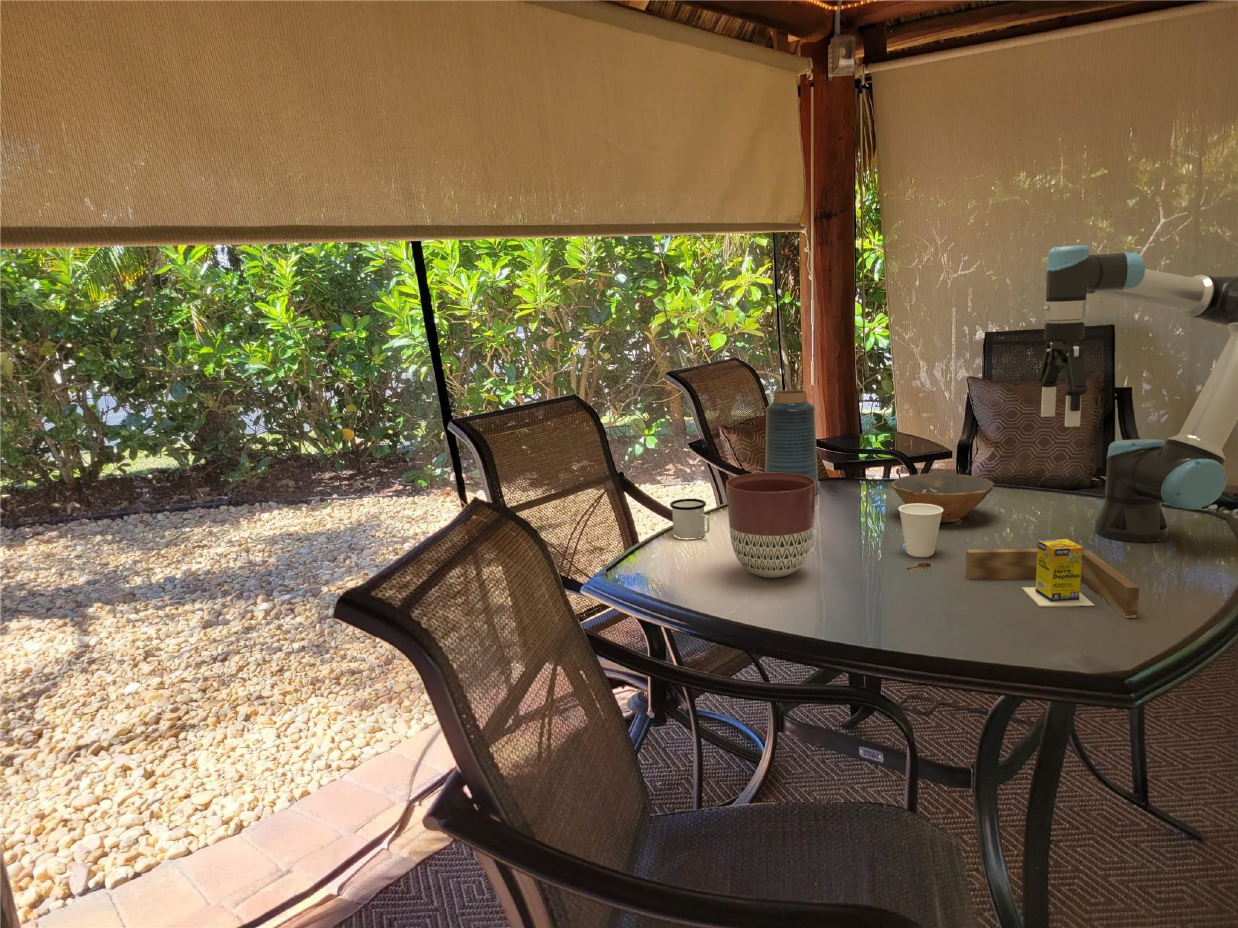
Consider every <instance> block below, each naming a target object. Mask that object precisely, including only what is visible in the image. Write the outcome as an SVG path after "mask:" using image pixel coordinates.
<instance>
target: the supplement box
mask: <svg viewBox="0 0 1238 928" xmlns="http://www.w3.org/2000/svg"><path fill="white" fill-rule="evenodd" d="M1037 549H1038V553H1037V571H1036V579H1035V587H1036V589H1035V591H1036V592H1037V593H1039V594H1040V595H1042V596H1043V597H1045V598H1046V599H1048V600H1049V601H1062V600H1079V595H1080V593H1081V581H1080V580H1081V565H1082V551H1083V546H1081V545H1080V544H1077V543H1075V541H1071V540H1070V539H1068V538H1063V539H1049V540H1048V539H1046V540H1042V539H1039V540H1038V541H1037Z"/></svg>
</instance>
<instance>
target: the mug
mask: <svg viewBox="0 0 1238 928" xmlns="http://www.w3.org/2000/svg"><path fill="white" fill-rule="evenodd" d="M706 505H707V502H706V501H705V500H703V499H699V498H682V499H681V498H680V499H675V500H673V501H671V502H670V503H669V507H670V508H671V509H672V513H671V514H672V533H673V534H674V535H676V536H677V537H680V538H699V537H702V538H704V537H705V536H706V534H707V533H709V532H710V527H711V526H710V525H711V524H710V516H709V515H707V514H705V507H706ZM705 518H706V520H705ZM705 521H706V523H705ZM704 535H705V536H704ZM703 536H704V537H703Z"/></svg>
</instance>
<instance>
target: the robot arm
mask: <svg viewBox="0 0 1238 928" xmlns="http://www.w3.org/2000/svg"><path fill="white" fill-rule="evenodd" d="M1044 279H1045V283H1046V288H1045V289H1046V291H1045V306H1043V307H1042V308H1043V309H1042V310H1043V311H1044V313H1045V314H1044V319H1045V321H1048V322H1046V323H1045V324H1044V328H1043V329H1044V331H1043V332H1044V333H1043V339H1044V341H1047V342H1045V345H1044V346H1045V347H1044V354H1043V359H1042V363H1041V367H1040V372H1039V376H1038V380H1037V381H1038V384H1039V383H1040V385H1041V387H1042V389H1041V406H1040V408H1041V409H1040V417H1046V418H1047V417H1056V403H1057V402H1056V401H1057V400H1056V399H1057V387H1058V383H1057V380H1058V378H1059V375H1060V372H1061V370H1062V373H1063V377H1064V382H1065V385H1066V390H1067V391H1066V392H1065V394H1064V395H1065V411H1064V412H1065V415H1064V427H1066V428H1069V427H1070V428H1072V427H1081V414H1082V413H1081V411H1082V398H1083V397H1082V396H1083V395H1084V394H1087V393H1088V385H1087V379H1086V378H1087V377H1086V372H1085V371H1086V370H1085V365H1084V355H1083V354H1084V353H1083V352H1084V348H1083V346H1081V345H1080V346H1078V345H1077V346H1076V341H1081V340H1083V339H1084V338H1085V322H1084V321H1083V320H1085V319H1086V317H1087V316H1086V315H1087V294H1088V295H1094V296H1098V297H1103V298H1104V297H1105V298H1111V299H1115V300H1122V301H1127V302H1132V303H1136V304H1137V303H1138V304H1142V305H1148V306H1154V307H1160V308H1166V309H1171V310H1176V311H1179V312H1180V314H1182V315H1183V316H1186V317H1189V318H1194V319H1199V320H1202V321H1206V322H1210V323H1214V324H1219V325H1222V326H1225V327H1226V328H1227V329H1228V331H1229V333H1230V337H1229V339H1228V341H1227V342H1226V344H1225V346H1224V348H1223V349H1222V352H1221V353H1220V356H1219V358H1218V360H1217V361H1216V363H1215V365H1214V367H1213V369H1212V371H1211V373H1210V375H1209V376H1208V378H1207V380H1206V382H1205V383H1204V386H1203V388H1202V390H1201V392H1200V393H1199V395H1198V396H1197V399H1196V401H1195V403H1194V405H1193V407H1192V408H1191V411H1190V412H1189V414H1188V416H1187V417H1186V420H1185V421H1184V424H1183V425H1182V427H1181V429H1180V430H1179V433H1177V434H1176V435H1173V436H1171V437H1170V436H1169V437H1168V438H1167V439H1166V441H1165V440H1164V439H1157V438H1156V439H1151V438H1150V439H1149V438H1148V439H1146V438H1145V439H1141V438H1140V439H1139V438H1138V439H1123V440H1115V441H1112V442H1111V443H1110V444H1109V445H1108V450H1107V456H1106V471H1105V472H1106V473H1105V474H1106V476H1105V494H1104V502H1103V504H1102V505H1101V508H1100V511H1099V513H1098V515H1097V517H1096V520H1095V523H1094V532H1095V533H1096V534H1098V535H1100V536H1101V537H1104V538H1107V539H1111V540H1114V541H1115V540H1117V541H1123V542H1132V543H1153V542H1155V541H1156V542H1159V541H1158V540H1161V541H1163V540H1162V539H1164V538H1166V537H1167V536H1168V537H1169V535H1168V534H1169V525H1168V522H1167V519H1166V515H1165V513H1164V510H1163V506H1162V503H1163V504H1167V505H1169V506H1171V507H1173V508H1180V509H1184V510H1185V509H1186V510H1200V509H1203V508H1205V507H1207V506H1210V505H1212V504H1213V503H1214V502H1216V500H1218V499H1219V498H1220V497H1221V495H1222V494H1223V492H1224V490H1225V488H1226V485H1227V478H1226V476H1227V472H1226V469H1225V467H1224V466H1223V465H1224V463H1225V461H1226V456H1225V454H1224V453H1223V448H1224V445H1225V444H1226V442H1227V440H1228V438H1229V436H1230V434H1231V433H1232V431H1233V429H1234V427H1235V425H1236V424H1237V421H1238V275H1228V276H1227V275H1225V276H1222V275H1221V276H1217V275H1215V276H1213V275H1206V274H1197V275H1194V276H1187V275H1180V274H1174V273H1170V272H1169V273H1168V272H1162V271H1159V270H1153V269H1147V268H1146V264H1145V260H1144V258H1143V257H1142V255H1140V254H1138V253H1136V252H1125V251H1123V252H1114V253H1102V254H1101V253H1100V254H1090V249H1089V246H1088V245H1084V244H1083V245H1068V246H1067V245H1066V246H1055V247H1052V248H1051V249H1050V250H1049V252H1048V255H1047V263H1046V269H1045V271H1044ZM1168 537H1167V538H1168ZM1167 538H1166V539H1167ZM1164 540H1165V539H1164Z"/></svg>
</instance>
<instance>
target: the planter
mask: <svg viewBox="0 0 1238 928" xmlns="http://www.w3.org/2000/svg"><path fill="white" fill-rule="evenodd" d="M725 487H726V488H725V489H726V490H725V491H726V501H727V502H726V503H727V512H728V515H727V516H728V524H729V533H730V542H731V545H732V549H733V552H734V555H735V557H736V559H737V560H738V562H739V563H740V564H741V565H742V566H743V567H744V568H745V569H746V570H747V571H749V572H750V573H751V574H753V575H757V576H759V577H763V578H766V579H776V578H782V577H783V578H784V577H787V576H789V575H790V574H793V573H795V572H796V571H798V569H800V568H801V567H802V566H803V565H804V563H805V562H806V561H807V559H808V557H809V555H810V553H811V549H812V545H813V539H814V527H815V509H816V507H815V506H816V505H815V503H816V494H815V491H816V481H815V480H814V479H813V478H811V477H809V476H805V475H801V474H795V473H784V472H765V471H764V472H753V473H745V474H741V475H737V476H733V477H731V478H729V479H727V480H726V481H725Z"/></svg>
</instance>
